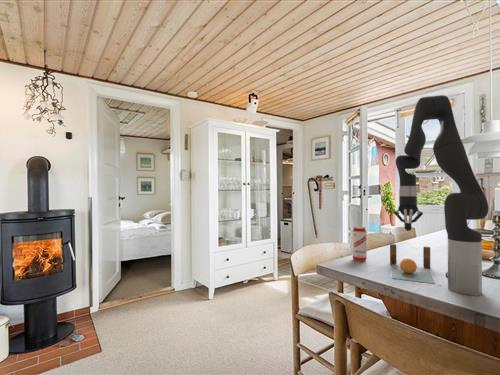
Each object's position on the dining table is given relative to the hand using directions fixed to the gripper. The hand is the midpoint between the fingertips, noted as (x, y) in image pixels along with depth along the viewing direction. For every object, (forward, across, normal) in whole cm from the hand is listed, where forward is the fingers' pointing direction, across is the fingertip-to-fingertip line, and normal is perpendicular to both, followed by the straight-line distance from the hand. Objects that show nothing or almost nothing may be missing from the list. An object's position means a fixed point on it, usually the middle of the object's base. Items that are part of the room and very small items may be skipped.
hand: (408, 230), depth 136 cm
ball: (+11, -1, -26) cm, 28 cm away
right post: (+14, +6, -13) cm, 20 cm away
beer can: (+14, -21, -13) cm, 28 cm away
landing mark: (+14, 0, -29) cm, 32 cm away
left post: (+14, -7, -13) cm, 20 cm away
